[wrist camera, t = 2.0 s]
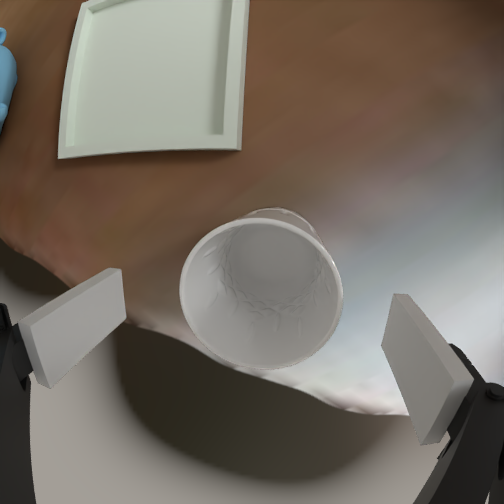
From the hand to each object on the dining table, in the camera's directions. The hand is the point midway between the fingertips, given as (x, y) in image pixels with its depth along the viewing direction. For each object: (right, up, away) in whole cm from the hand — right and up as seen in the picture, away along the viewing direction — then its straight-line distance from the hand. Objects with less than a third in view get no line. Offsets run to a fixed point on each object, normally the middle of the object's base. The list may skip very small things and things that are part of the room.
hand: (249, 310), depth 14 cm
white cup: (+2, +3, +10) cm, 11 cm away
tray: (-9, +19, +7) cm, 22 cm away
